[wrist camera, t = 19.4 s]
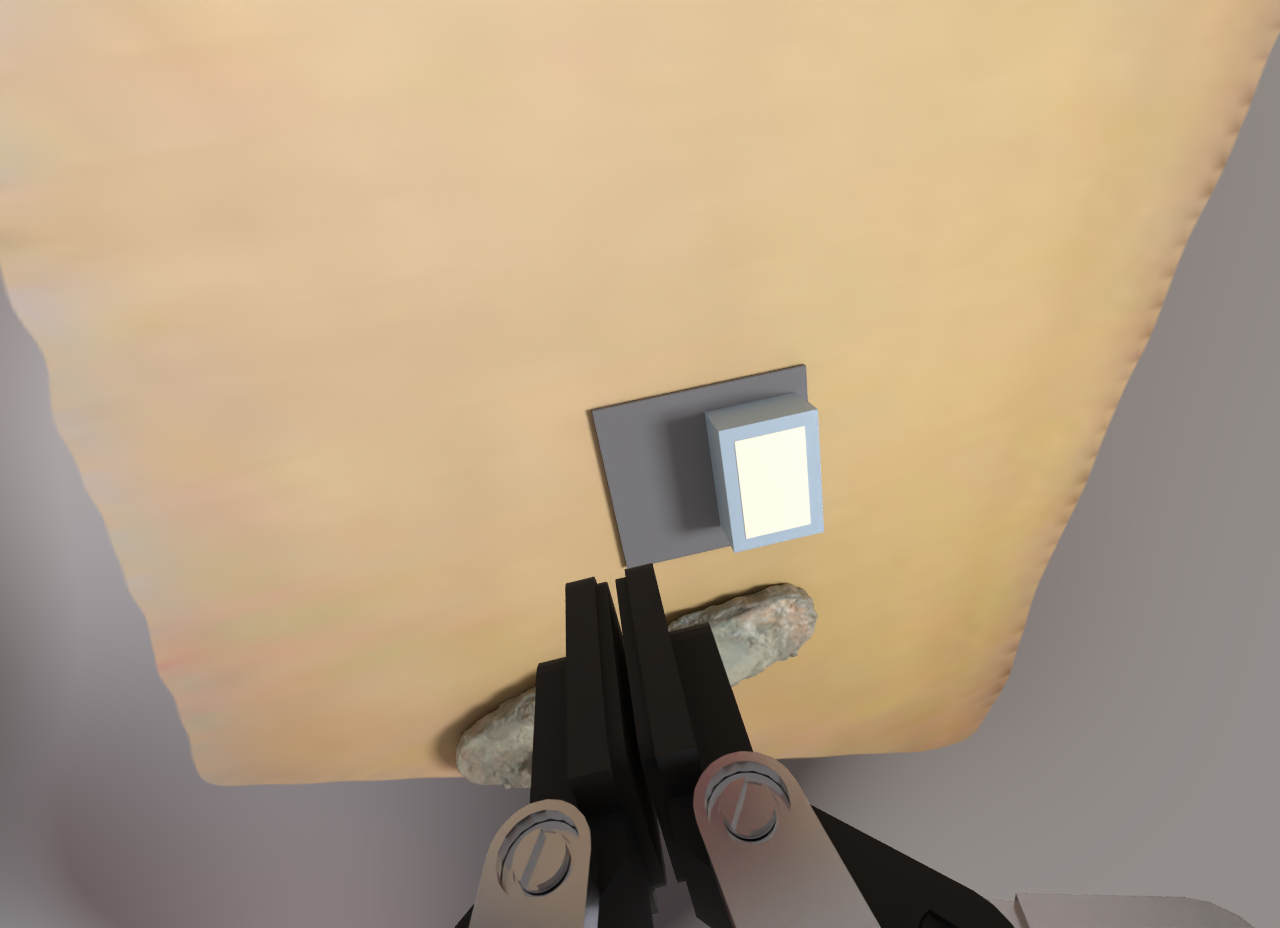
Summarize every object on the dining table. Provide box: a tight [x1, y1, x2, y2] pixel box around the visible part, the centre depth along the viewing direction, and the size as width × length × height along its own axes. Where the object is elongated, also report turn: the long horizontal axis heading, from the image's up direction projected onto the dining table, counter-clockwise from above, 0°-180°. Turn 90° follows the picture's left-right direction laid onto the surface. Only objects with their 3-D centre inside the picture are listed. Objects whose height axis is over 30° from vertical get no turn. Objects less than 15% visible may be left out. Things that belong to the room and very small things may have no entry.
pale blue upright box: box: [704, 392, 824, 553], centre depth 43 cm, size 10×4×7 cm
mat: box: [592, 364, 808, 569], centre depth 45 cm, size 14×16×1 cm
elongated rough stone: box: [456, 583, 818, 789], centre depth 51 cm, size 35×5×10 cm
